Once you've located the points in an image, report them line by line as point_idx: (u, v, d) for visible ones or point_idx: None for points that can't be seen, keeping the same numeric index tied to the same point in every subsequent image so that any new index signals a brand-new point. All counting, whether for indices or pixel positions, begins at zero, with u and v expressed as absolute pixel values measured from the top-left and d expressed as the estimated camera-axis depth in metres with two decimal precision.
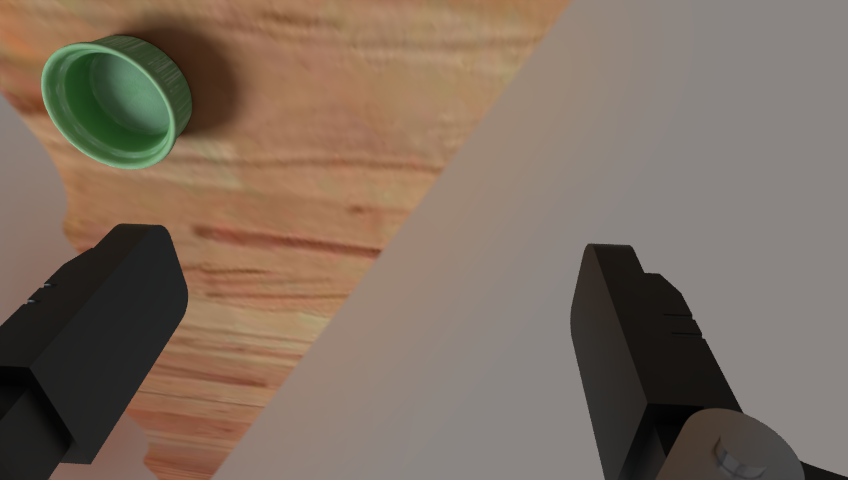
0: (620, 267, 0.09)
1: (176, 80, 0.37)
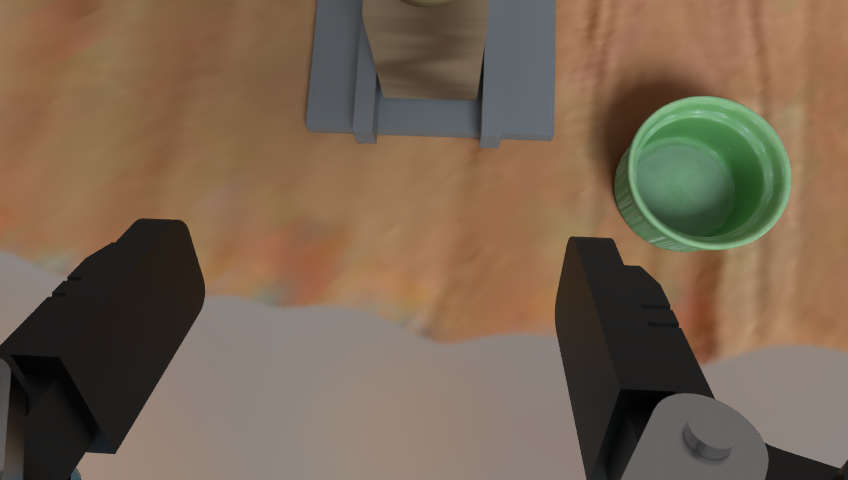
0: (600, 259, 0.09)
1: None
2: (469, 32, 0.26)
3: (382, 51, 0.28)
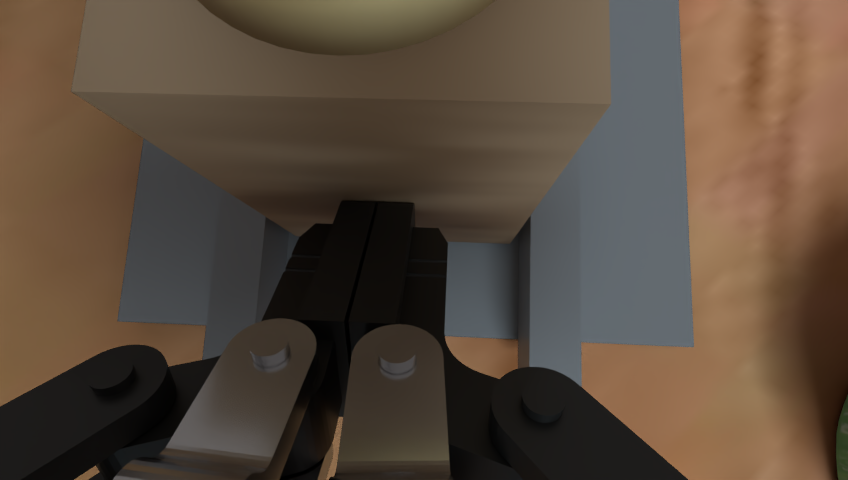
0: (392, 220, 0.10)
1: None
2: (517, 142, 0.07)
3: (237, 178, 0.09)
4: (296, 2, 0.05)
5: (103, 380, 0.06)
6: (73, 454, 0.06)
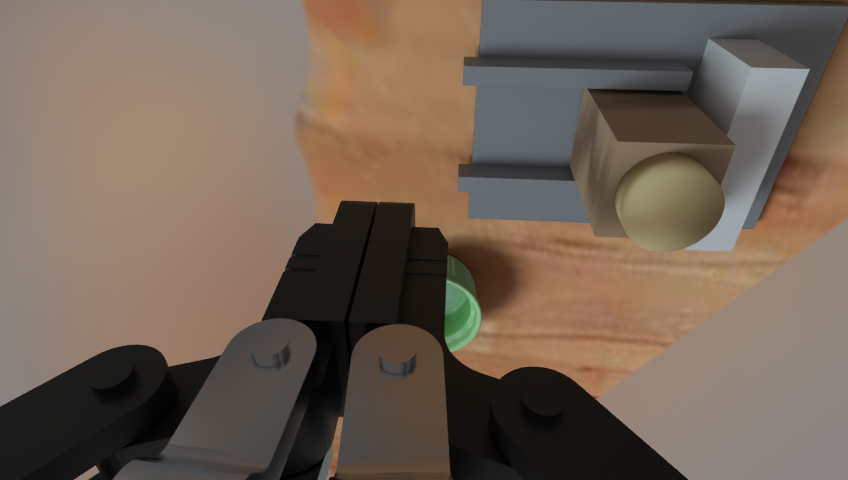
0: (392, 220, 0.10)
1: (475, 288, 0.45)
2: (593, 213, 0.31)
3: (601, 126, 0.30)
4: (620, 197, 0.28)
5: (103, 380, 0.06)
6: (72, 454, 0.06)
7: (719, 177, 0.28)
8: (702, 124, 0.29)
